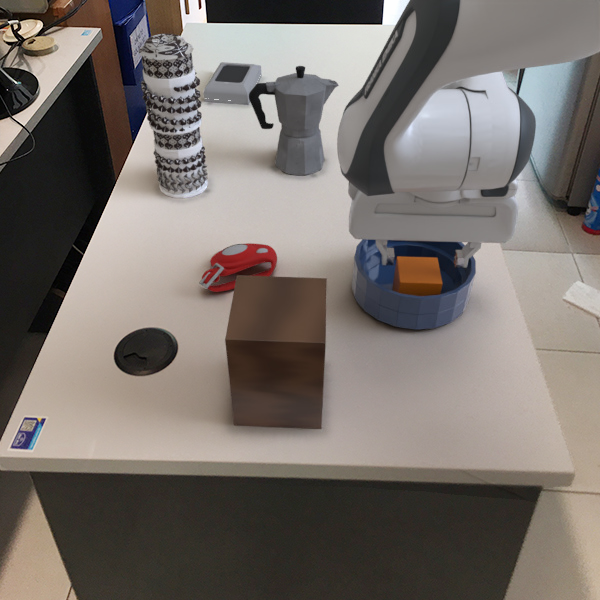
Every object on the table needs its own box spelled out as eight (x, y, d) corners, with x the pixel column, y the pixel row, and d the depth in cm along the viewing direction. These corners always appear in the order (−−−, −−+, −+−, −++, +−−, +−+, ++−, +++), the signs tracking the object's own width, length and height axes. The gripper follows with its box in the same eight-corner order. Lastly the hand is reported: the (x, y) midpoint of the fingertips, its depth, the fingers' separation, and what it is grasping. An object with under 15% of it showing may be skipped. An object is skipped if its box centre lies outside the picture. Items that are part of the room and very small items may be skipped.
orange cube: (431, 288, 89) (437, 257, 85) (436, 314, 85) (442, 283, 81) (392, 286, 89) (396, 256, 85) (395, 313, 85) (400, 282, 81)
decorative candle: (209, 169, 114) (194, 26, 97) (211, 197, 107) (197, 48, 90) (157, 173, 113) (134, 29, 96) (157, 201, 106) (132, 51, 89)
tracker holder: (213, 241, 96) (276, 231, 94) (221, 267, 98) (283, 258, 96) (190, 275, 85) (260, 266, 83) (199, 304, 87) (268, 295, 85)
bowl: (482, 278, 92) (490, 245, 88) (444, 348, 81) (452, 314, 77) (380, 245, 97) (383, 212, 93) (332, 306, 87) (334, 272, 83)
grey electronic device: (260, 60, 143) (247, 87, 132) (261, 76, 145) (248, 104, 134) (219, 58, 144) (202, 84, 133) (221, 74, 146) (204, 101, 135)
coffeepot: (328, 147, 120) (332, 53, 108) (340, 172, 113) (346, 74, 101) (248, 155, 118) (243, 59, 106) (256, 181, 111) (251, 81, 99)
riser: (322, 363, 79) (326, 278, 70) (321, 428, 71) (325, 342, 62) (243, 360, 79) (236, 275, 70) (233, 425, 72) (224, 339, 62)
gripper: (350, 180, 71) (344, 276, 80) (533, 185, 70) (506, 281, 79) (349, 154, 76) (343, 247, 85) (520, 158, 75) (496, 251, 84)
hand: (423, 263), depth 82 cm, fingers open, 8 cm apart
